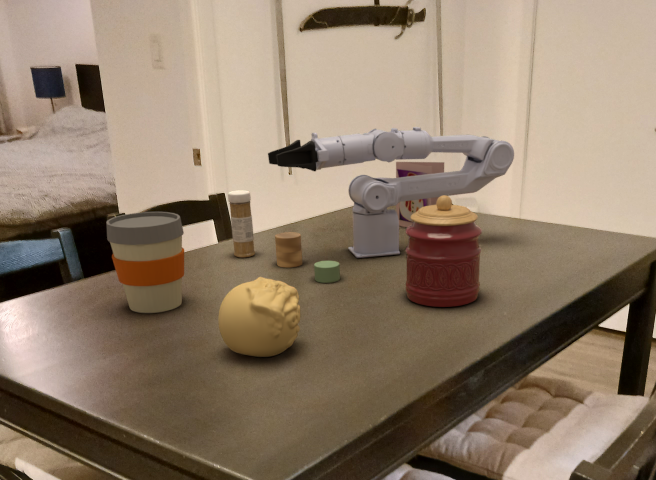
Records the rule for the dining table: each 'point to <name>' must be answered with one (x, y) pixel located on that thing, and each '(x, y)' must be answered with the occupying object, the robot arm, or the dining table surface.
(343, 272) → the dining table surface
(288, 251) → the pile middle chip
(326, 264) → the green short cylinder
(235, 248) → the sprinkles bottle
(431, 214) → the kitchen canister
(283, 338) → the sculpture
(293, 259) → the pile bottom chip
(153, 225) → the reusable coffee cup
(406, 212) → the greeting card
